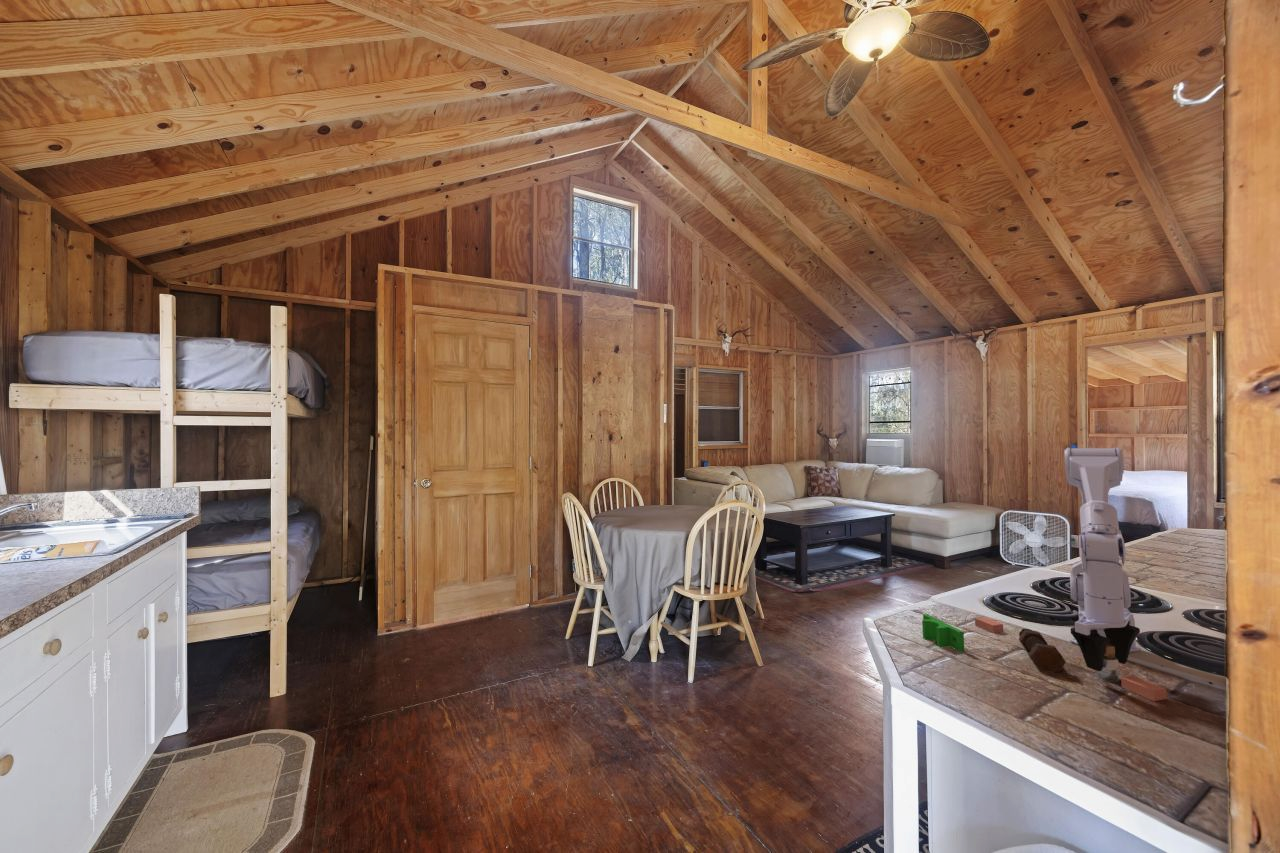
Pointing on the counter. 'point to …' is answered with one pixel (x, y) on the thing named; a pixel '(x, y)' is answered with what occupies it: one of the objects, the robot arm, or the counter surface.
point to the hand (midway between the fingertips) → (1106, 665)
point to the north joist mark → (1144, 688)
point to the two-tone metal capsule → (1109, 665)
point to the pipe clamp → (942, 633)
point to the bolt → (1041, 651)
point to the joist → (989, 624)
